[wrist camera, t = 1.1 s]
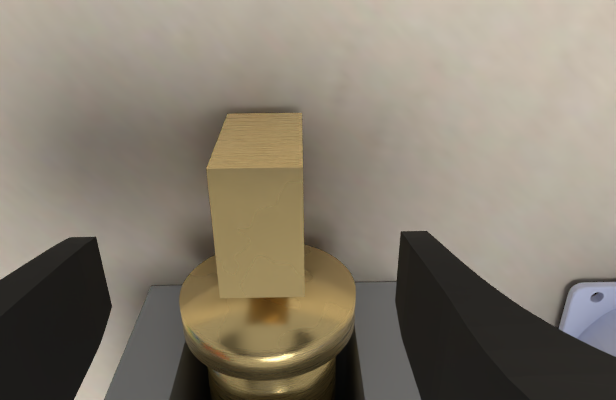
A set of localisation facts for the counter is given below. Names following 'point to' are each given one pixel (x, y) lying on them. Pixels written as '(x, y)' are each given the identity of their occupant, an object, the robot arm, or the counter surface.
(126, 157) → the counter surface
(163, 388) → the plate
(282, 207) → the brass fitting
